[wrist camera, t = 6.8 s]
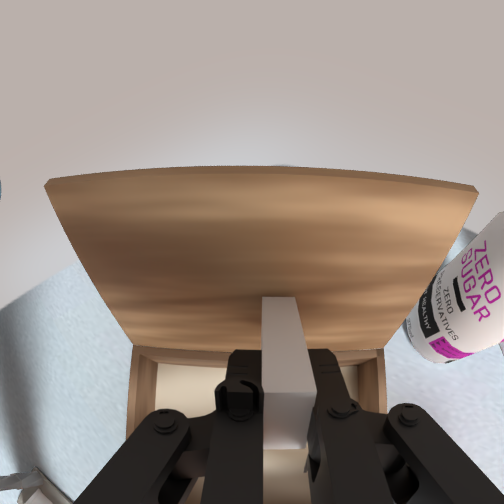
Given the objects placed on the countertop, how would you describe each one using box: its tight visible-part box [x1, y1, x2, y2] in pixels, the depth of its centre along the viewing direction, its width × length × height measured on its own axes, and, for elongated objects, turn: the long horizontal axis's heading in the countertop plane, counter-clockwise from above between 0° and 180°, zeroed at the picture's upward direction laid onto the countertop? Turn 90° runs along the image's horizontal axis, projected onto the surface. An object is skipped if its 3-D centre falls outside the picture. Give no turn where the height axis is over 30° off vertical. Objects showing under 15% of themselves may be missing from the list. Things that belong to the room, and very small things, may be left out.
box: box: [126, 345, 387, 504], centre depth 18 cm, size 14×18×5 cm
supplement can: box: [406, 212, 504, 364], centre depth 18 cm, size 8×8×15 cm
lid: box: [44, 166, 479, 352], centre depth 14 cm, size 1×17×13 cm, turn 89°
